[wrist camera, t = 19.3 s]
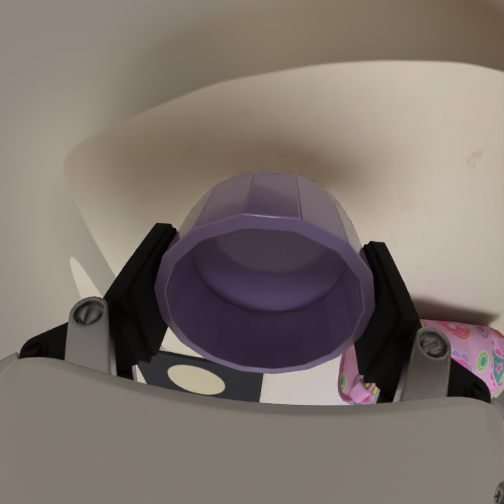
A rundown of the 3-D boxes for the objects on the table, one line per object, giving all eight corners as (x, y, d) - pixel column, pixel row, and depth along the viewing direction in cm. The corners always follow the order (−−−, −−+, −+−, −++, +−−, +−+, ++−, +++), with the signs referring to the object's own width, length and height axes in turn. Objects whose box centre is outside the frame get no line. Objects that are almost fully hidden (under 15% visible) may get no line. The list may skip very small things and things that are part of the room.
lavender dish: (194, 302, 13) (174, 361, 10) (179, 165, 9) (136, 207, 7) (333, 315, 13) (340, 376, 10) (370, 180, 9) (406, 230, 6)
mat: (160, 403, 44) (159, 406, 44) (128, 342, 33) (127, 346, 33) (255, 421, 43) (255, 424, 43) (264, 367, 32) (263, 371, 31)
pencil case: (498, 314, 23) (525, 370, 16) (459, 359, 28) (475, 412, 21) (366, 286, 23) (387, 374, 16) (328, 347, 28) (332, 422, 21)
